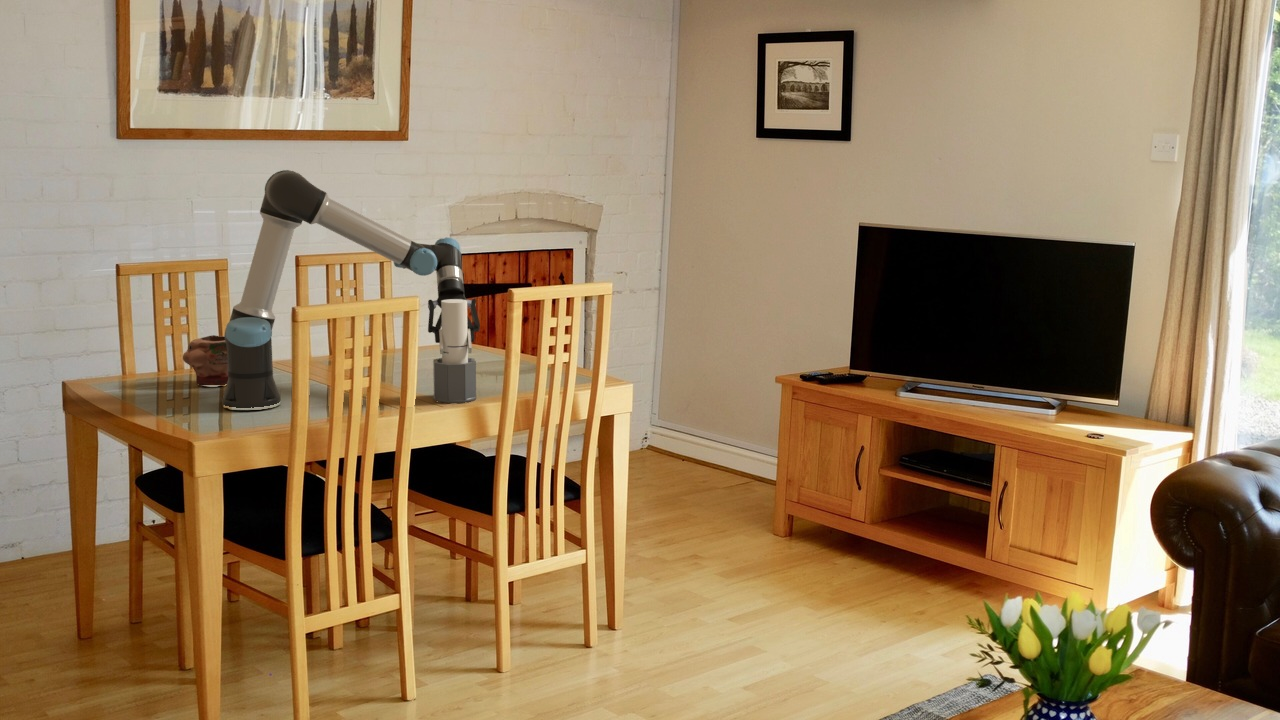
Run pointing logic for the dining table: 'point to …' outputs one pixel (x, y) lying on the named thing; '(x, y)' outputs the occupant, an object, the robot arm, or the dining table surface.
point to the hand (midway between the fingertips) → (456, 350)
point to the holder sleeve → (454, 381)
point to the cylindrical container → (454, 331)
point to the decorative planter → (208, 360)
